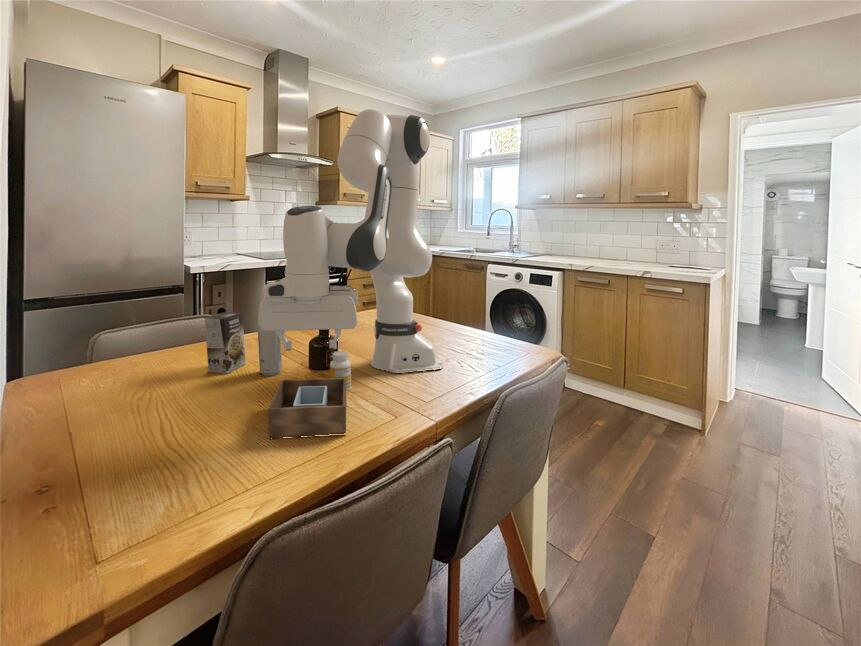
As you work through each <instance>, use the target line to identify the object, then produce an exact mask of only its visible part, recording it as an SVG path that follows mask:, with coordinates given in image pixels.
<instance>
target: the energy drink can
mask: <svg viewBox="0 0 861 646" xmlns="http://www.w3.org/2000/svg"><path fill="white" fill-rule="evenodd" d="M257 342H258V343H257V344H258V345H257V346H258V359H259V360H258V361H259V362H258V363H259V364H258V365H259V372H260V373H261V375H263V376H277V375H279V374H281V371H282V370H283V364H282V363H283V362H282V341H281V340H280V338H279V337H278V333H277V331H263V330H262V329H261V328H260V327H259V326H258V328H257Z"/></svg>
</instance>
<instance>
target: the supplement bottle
mask: <svg viewBox="0 0 861 646" xmlns="http://www.w3.org/2000/svg"><path fill="white" fill-rule="evenodd" d="M351 366H352V364H351V361H350V360H349V352H348V351H344V350H343V351H342V350H338V351H334V352H333V353H332V360H331V361H330V363H329V372H330V373H329V379H330V378H346V391H349V390H350V389H351V388H352V373H351V372H352V370H351V368H352V367H351Z"/></svg>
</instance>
